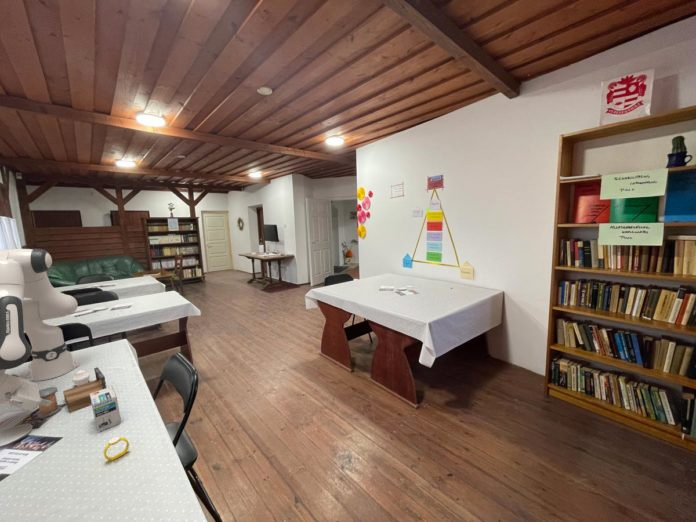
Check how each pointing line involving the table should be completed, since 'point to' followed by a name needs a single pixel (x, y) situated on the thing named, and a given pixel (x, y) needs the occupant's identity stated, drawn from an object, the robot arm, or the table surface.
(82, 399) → the shelf stand
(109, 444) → the watch
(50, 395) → the cord spool
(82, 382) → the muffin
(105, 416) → the light bulb box
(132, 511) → the table surface
